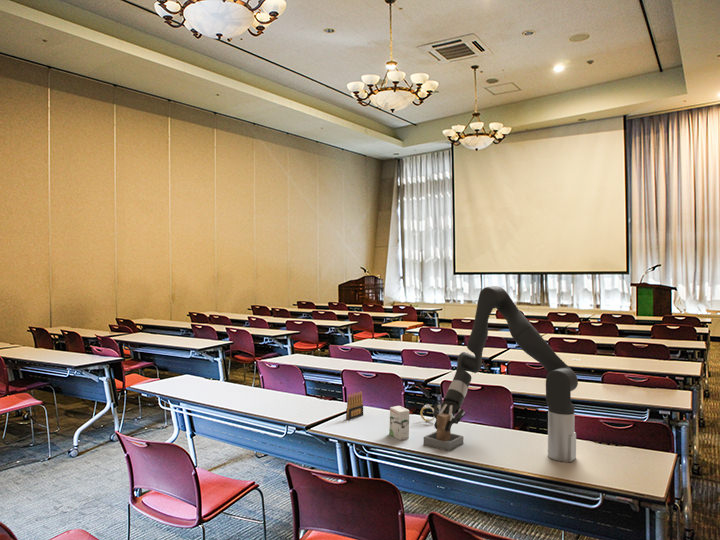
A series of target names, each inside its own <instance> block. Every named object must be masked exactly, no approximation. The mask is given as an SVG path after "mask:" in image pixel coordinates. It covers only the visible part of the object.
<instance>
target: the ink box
mask: <svg viewBox="0 0 720 540" xmlns="http://www.w3.org/2000/svg"><path fill="white" fill-rule="evenodd" d="M388 431H389V433H388V434H389V435H390V436H392V437H394V438H395V439H397V440H399V441H401V440H403V441H404V440H408V439H409V437H410V410H409V409H408V408H405V407H403V406H401V405H395V406H390V407H389V430H388Z"/></svg>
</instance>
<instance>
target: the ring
mask: <svg viewBox="0 0 720 540" xmlns="http://www.w3.org/2000/svg"><path fill="white" fill-rule="evenodd" d="M425 409H430V410H431V411H432V412H433V414H434V407H432V405H431V404H429V403H427V404H423V406H422V408H421V410H420V413H419V414H420V417H421V419H422V420H423V421H425V422H426V423H431V422H433V421H434V419H436V418H435V417H434V415H433V417H432V418H431V419H428V418H427V419H426V418H425V416H424V414H423V412H424V410H425Z"/></svg>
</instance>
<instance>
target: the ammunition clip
mask: <svg viewBox="0 0 720 540" xmlns="http://www.w3.org/2000/svg"><path fill="white" fill-rule="evenodd" d="M363 402H364V401H363V392H362V390H360V391H358V392H357V391H356V392H353V393H352V392H350V393H348V395H347V402H346V406H347V407H346V410H345V411H346V413H345V420H346V421H351V420H354V419H357V418H361V417H362V416H364V404H363Z"/></svg>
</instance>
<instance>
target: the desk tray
mask: <svg viewBox="0 0 720 540" xmlns="http://www.w3.org/2000/svg"><path fill="white" fill-rule="evenodd" d="M423 445H424V446H429V447H432V448H437V449H440V450H444V451H447V452H450V451H452V450H454V449H456V448H458V447H460V446H462V445H464V435H460V434H456V433H451V432H450V440H448V441H446V442H445V441H441V440H437V430H436V431H433V432H431V433H429V434H427V435H425V436H423Z"/></svg>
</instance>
